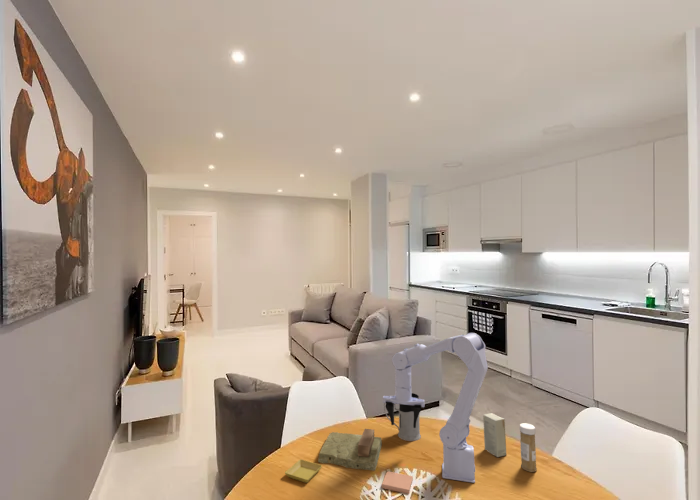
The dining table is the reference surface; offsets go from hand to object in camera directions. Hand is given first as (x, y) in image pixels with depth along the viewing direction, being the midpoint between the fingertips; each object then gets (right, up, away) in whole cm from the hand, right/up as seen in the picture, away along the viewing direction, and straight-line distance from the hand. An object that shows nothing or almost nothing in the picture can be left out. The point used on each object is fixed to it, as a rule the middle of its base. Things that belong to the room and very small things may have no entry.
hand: (403, 425), depth 120 cm
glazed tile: (-3, -8, -15) cm, 17 cm away
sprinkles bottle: (+39, -9, -10) cm, 41 cm away
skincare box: (+32, -10, 0) cm, 34 cm away
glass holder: (+1, -11, +12) cm, 16 cm away
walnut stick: (-13, -6, -2) cm, 15 cm away
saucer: (-33, -9, -13) cm, 37 cm away
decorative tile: (-19, -10, -1) cm, 21 cm away
